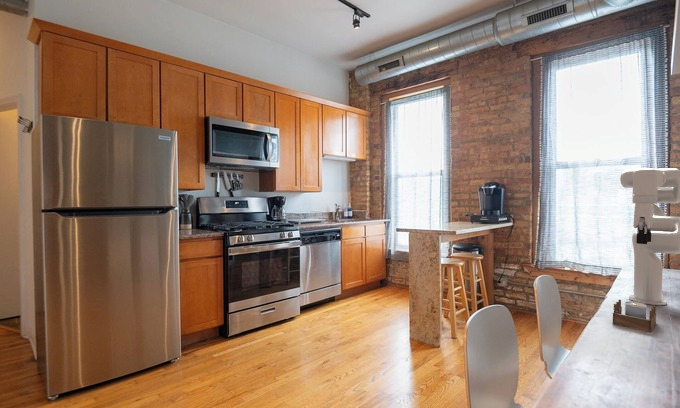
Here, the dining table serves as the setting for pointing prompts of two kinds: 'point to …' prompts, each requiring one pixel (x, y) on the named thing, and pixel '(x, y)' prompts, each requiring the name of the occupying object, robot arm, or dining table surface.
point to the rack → (634, 319)
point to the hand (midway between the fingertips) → (643, 242)
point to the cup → (635, 309)
